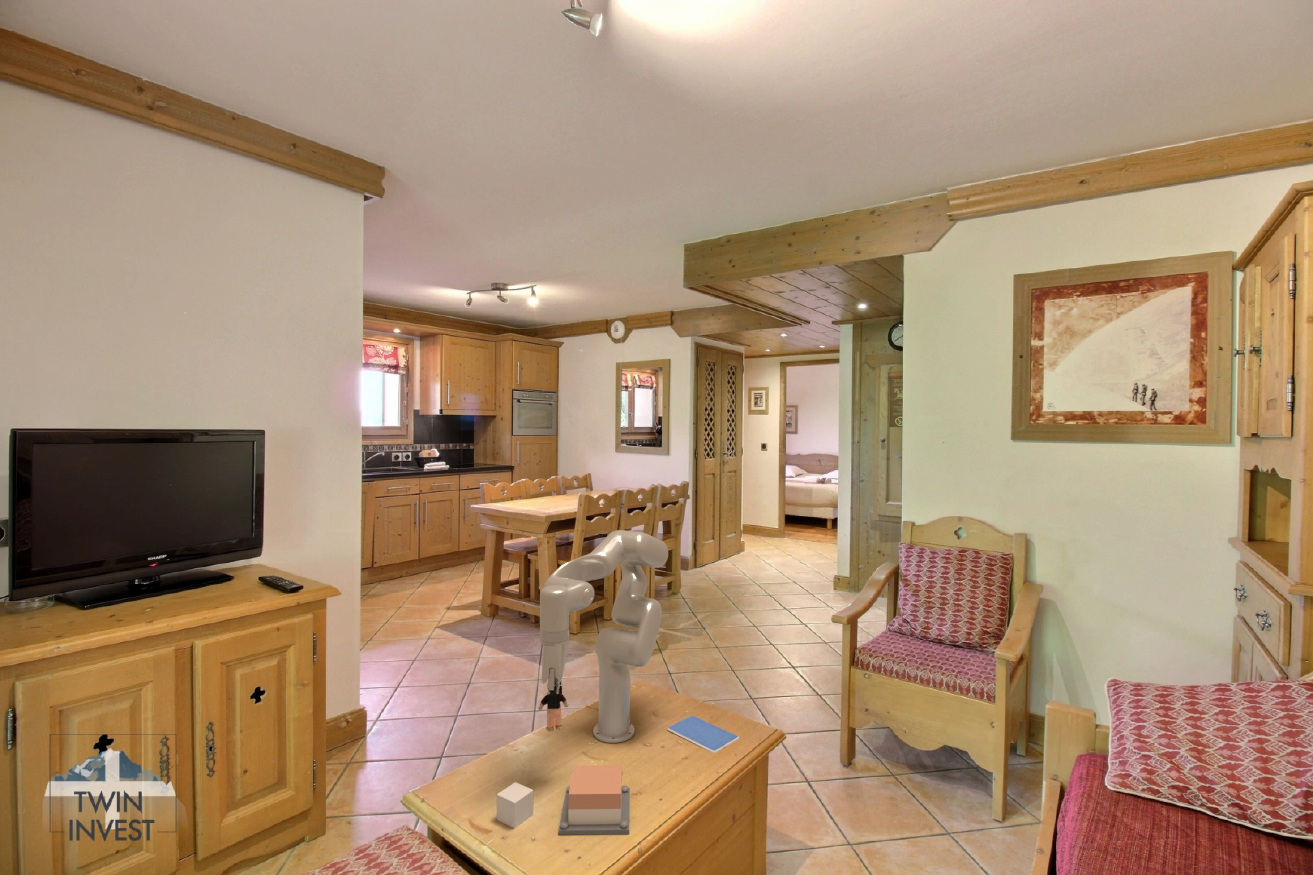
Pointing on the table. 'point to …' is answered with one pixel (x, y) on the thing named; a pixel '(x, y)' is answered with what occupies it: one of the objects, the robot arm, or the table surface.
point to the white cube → (514, 805)
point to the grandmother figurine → (553, 713)
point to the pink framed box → (595, 802)
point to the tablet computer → (703, 734)
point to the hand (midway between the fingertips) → (554, 703)
